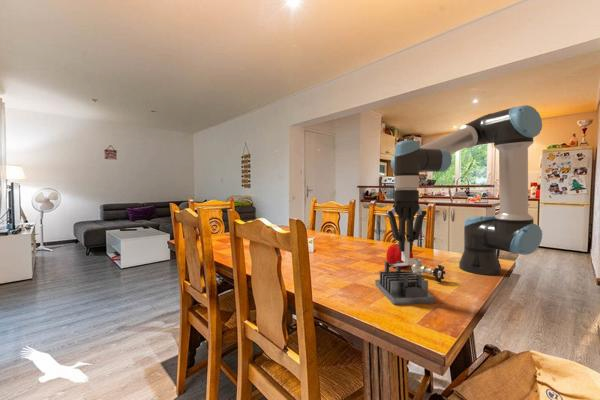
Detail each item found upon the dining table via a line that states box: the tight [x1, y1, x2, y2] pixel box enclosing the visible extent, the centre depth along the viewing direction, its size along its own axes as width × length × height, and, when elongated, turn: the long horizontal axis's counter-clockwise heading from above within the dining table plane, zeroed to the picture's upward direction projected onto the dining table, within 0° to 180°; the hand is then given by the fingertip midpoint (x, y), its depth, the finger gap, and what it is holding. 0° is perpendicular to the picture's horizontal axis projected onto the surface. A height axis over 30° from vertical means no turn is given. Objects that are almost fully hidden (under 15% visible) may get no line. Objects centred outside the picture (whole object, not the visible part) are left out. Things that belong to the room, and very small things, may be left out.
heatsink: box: [374, 260, 436, 306], centre depth 95 cm, size 18×13×8 cm
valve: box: [411, 258, 446, 283], centre depth 110 cm, size 7×7×12 cm
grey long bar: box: [389, 257, 416, 268], centre depth 96 cm, size 16×3×2 cm, turn 3°
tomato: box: [385, 243, 414, 269], centre depth 126 cm, size 12×12×10 cm
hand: (405, 261), depth 92 cm, fingers closed
